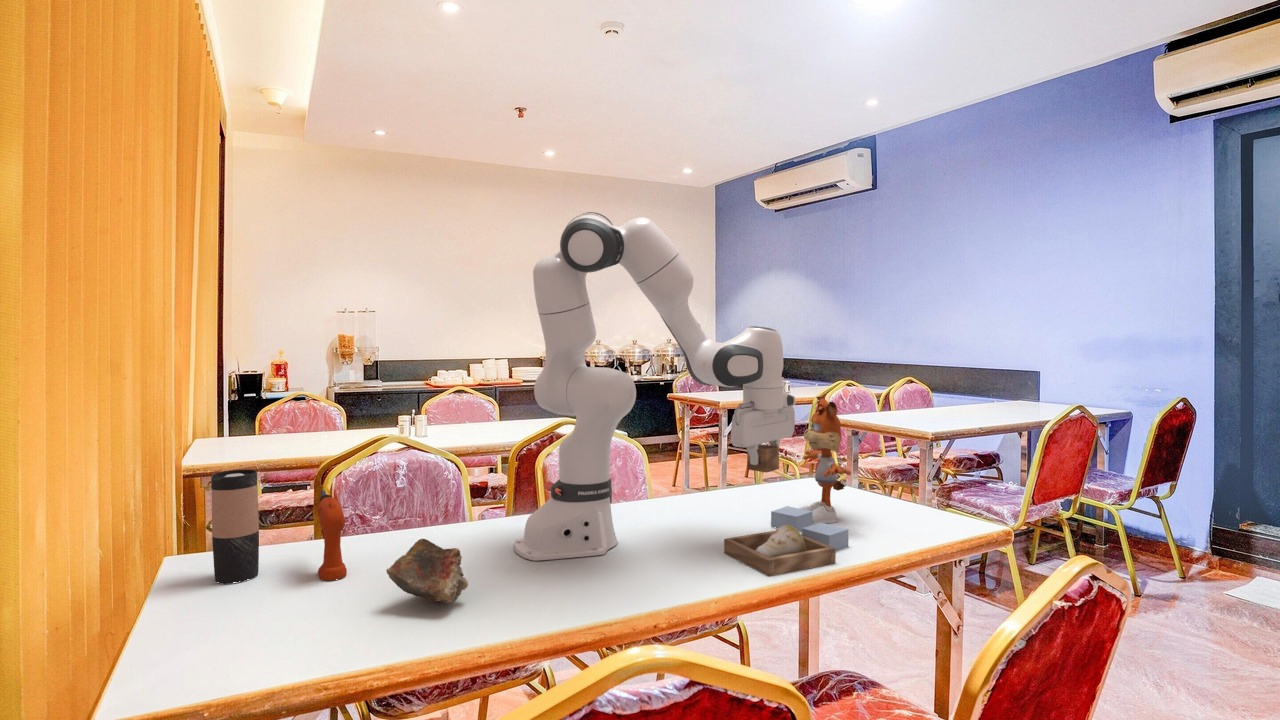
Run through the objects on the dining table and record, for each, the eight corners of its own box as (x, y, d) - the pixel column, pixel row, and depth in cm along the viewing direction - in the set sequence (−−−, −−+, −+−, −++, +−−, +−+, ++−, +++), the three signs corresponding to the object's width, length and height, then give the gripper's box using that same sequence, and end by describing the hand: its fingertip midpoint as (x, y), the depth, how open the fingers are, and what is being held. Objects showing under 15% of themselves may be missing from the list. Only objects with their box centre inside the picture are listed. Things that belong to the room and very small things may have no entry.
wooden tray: (768, 576, 127) (768, 560, 127) (724, 552, 141) (724, 538, 141) (835, 563, 134) (835, 548, 134) (786, 542, 148) (786, 528, 148)
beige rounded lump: (744, 563, 136) (758, 515, 139) (783, 579, 138) (795, 532, 142) (765, 565, 129) (778, 515, 132) (805, 582, 131) (817, 533, 135)
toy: (788, 504, 182) (788, 394, 181) (830, 504, 182) (830, 393, 181) (812, 536, 152) (812, 404, 151) (862, 537, 152) (863, 404, 151)
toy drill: (335, 544, 143) (335, 476, 141) (349, 582, 127) (349, 507, 125) (310, 548, 141) (309, 479, 139) (321, 587, 125) (320, 510, 123)
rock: (442, 585, 123) (441, 531, 123) (488, 600, 116) (487, 543, 116) (382, 607, 113) (381, 549, 113) (429, 625, 106) (428, 563, 106)
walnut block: (766, 472, 146) (766, 449, 145) (747, 469, 149) (747, 447, 149) (779, 468, 149) (778, 446, 149) (760, 465, 153) (760, 444, 152)
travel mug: (263, 568, 133) (260, 468, 132) (256, 581, 126) (253, 475, 125) (218, 573, 130) (215, 471, 129) (208, 587, 123) (206, 478, 122)
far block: (796, 533, 156) (796, 516, 155) (771, 527, 160) (771, 511, 160) (812, 527, 160) (812, 511, 160) (787, 522, 165) (787, 506, 165)
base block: (829, 554, 141) (829, 535, 141) (801, 546, 146) (801, 528, 146) (848, 547, 145) (848, 529, 145) (821, 540, 151) (821, 522, 150)
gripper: (747, 405, 139) (748, 471, 139) (799, 397, 153) (799, 457, 154) (723, 403, 143) (723, 467, 144) (775, 395, 158) (776, 453, 158)
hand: (763, 462), depth 149 cm, fingers closed on walnut block, 5 cm apart
